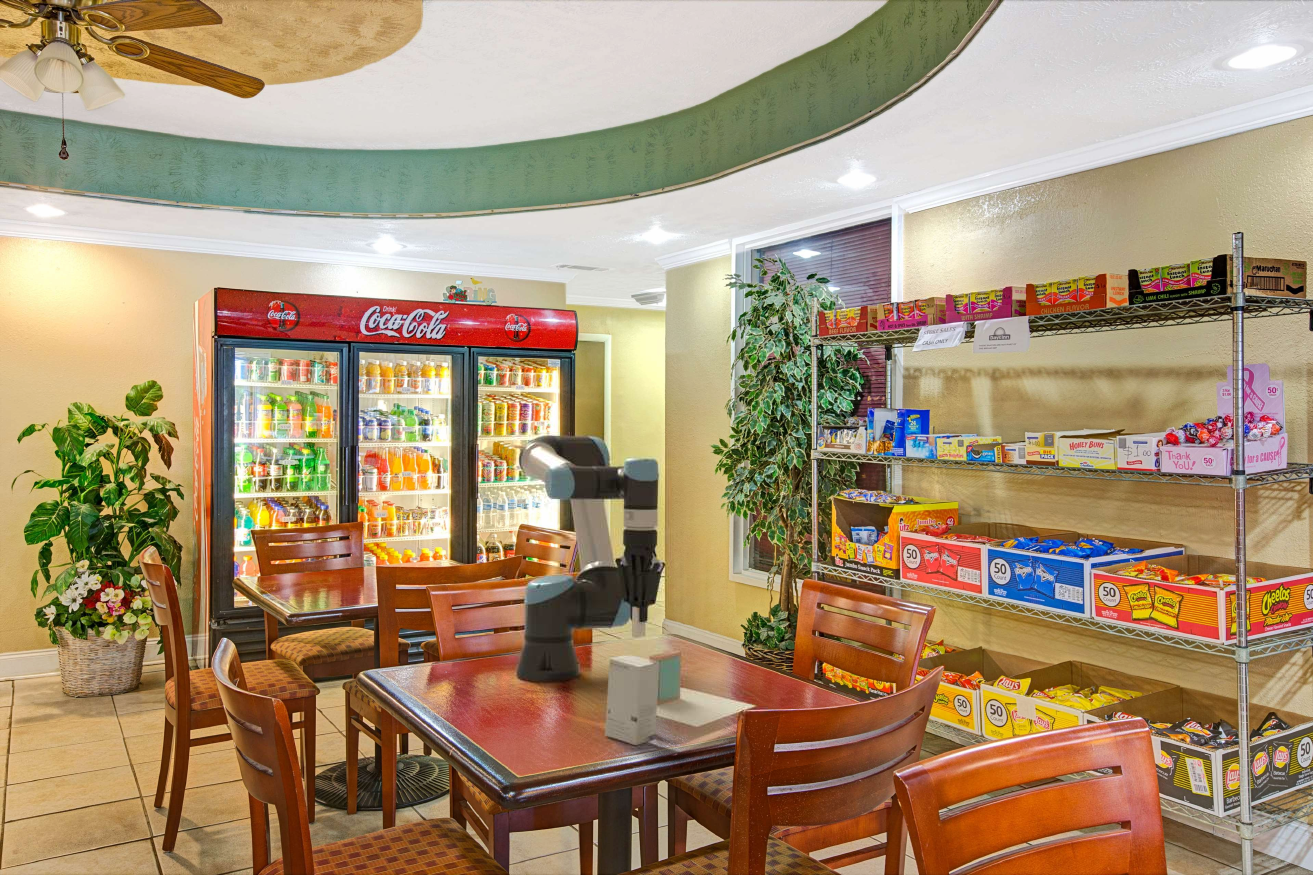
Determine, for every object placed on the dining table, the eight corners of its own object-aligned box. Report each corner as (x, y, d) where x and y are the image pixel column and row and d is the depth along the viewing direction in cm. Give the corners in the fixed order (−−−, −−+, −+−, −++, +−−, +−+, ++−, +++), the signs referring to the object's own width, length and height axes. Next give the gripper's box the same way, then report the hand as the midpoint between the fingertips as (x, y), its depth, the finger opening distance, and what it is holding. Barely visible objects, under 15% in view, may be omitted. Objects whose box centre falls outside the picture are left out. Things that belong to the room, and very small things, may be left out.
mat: (608, 706, 189) (608, 701, 189) (669, 688, 204) (669, 684, 204) (697, 731, 173) (697, 726, 173) (756, 710, 188) (756, 705, 188)
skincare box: (604, 736, 169) (605, 657, 169) (625, 729, 174) (627, 652, 174) (637, 746, 164) (639, 665, 164) (658, 738, 168) (660, 659, 168)
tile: (648, 703, 188) (649, 656, 188) (673, 696, 194) (674, 650, 194) (656, 705, 186) (657, 657, 187) (681, 698, 192) (682, 651, 193)
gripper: (607, 527, 197) (605, 634, 197) (651, 531, 189) (649, 643, 188) (630, 525, 203) (628, 629, 203) (674, 529, 195) (672, 638, 194)
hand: (638, 636), depth 195 cm, fingers closed
